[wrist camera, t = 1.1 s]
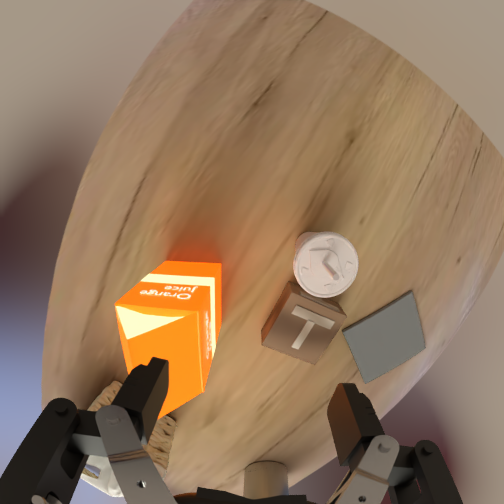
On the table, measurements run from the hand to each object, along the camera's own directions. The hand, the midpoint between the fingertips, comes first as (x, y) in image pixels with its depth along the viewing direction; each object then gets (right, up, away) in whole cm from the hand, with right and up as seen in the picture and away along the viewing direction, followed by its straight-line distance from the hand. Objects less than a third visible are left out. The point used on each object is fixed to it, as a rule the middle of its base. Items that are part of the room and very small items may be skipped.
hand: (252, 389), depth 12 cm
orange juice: (-8, +1, +25) cm, 26 cm away
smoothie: (+7, +7, +23) cm, 25 cm away
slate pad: (+21, -7, +26) cm, 34 cm away
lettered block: (+7, -3, +25) cm, 26 cm away
